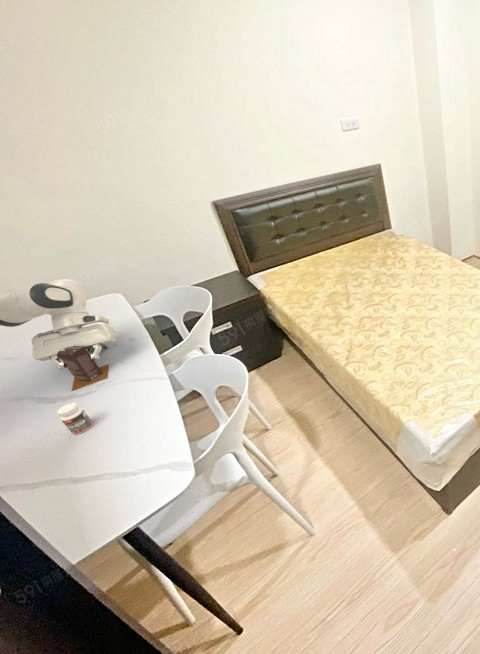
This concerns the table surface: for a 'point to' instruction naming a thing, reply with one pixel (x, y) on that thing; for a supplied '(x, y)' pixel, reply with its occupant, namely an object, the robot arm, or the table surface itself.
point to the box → (80, 363)
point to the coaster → (79, 383)
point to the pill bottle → (75, 418)
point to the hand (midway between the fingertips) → (79, 363)
